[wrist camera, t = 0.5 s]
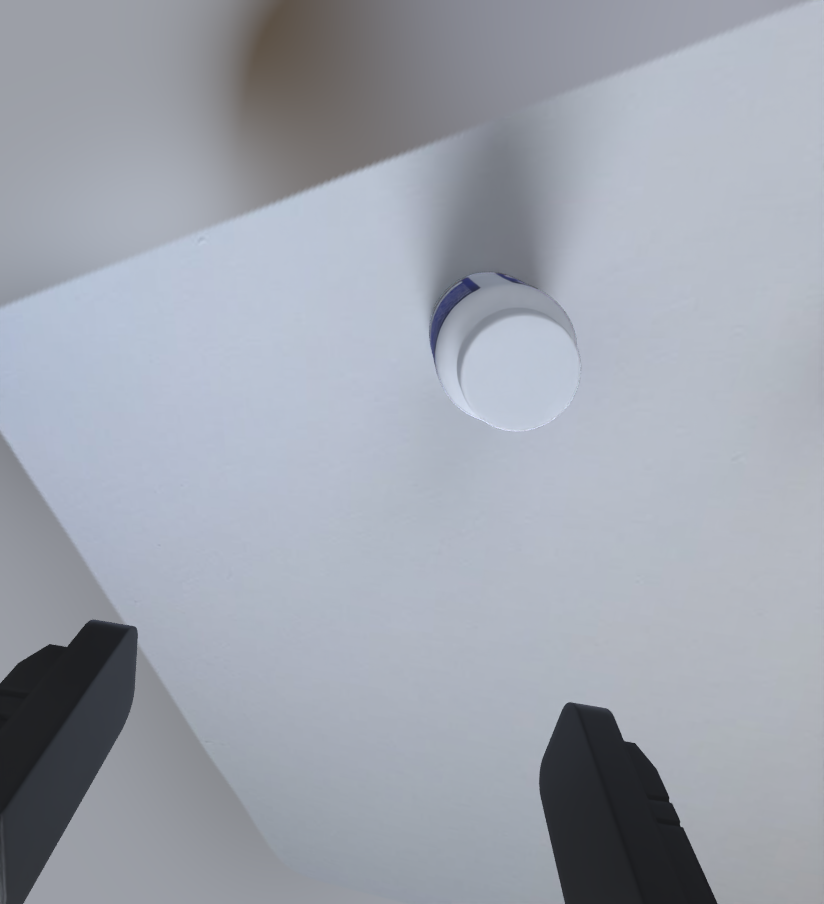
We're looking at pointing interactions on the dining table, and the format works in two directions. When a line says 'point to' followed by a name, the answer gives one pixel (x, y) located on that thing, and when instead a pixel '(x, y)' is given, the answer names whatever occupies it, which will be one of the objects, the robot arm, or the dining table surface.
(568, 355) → the pill bottle
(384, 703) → the dining table surface
